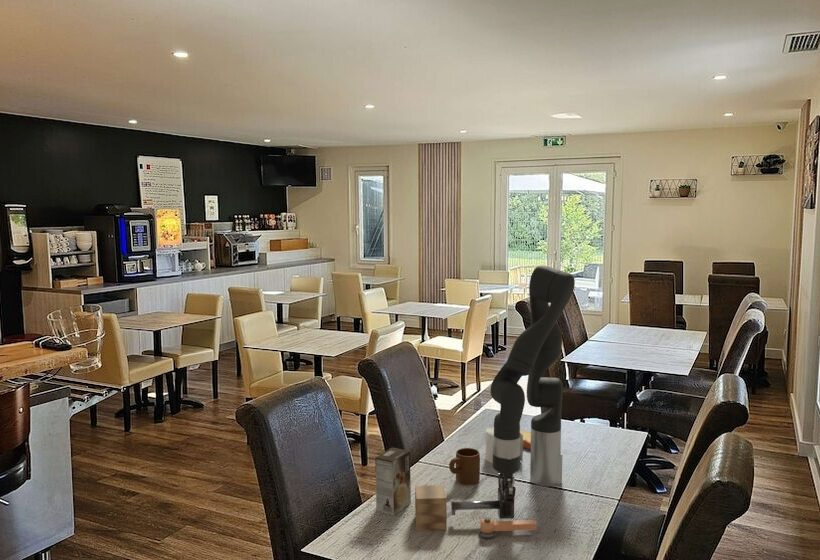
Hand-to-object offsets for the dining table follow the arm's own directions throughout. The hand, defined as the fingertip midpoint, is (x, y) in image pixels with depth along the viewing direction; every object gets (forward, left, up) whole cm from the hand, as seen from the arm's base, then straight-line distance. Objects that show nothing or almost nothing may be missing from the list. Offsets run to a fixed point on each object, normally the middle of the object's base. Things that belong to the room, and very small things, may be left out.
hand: (505, 512), depth 173 cm
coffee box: (+31, -10, -3) cm, 32 cm away
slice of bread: (-17, -59, -3) cm, 61 cm away
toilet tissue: (-7, -43, -3) cm, 44 cm away
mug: (+9, -25, -3) cm, 27 cm away
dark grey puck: (+6, +7, -3) cm, 10 cm away
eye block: (+21, 0, -3) cm, 21 cm away
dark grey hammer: (+6, 0, -1) cm, 7 cm away
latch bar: (+1, +7, -1) cm, 7 cm away
